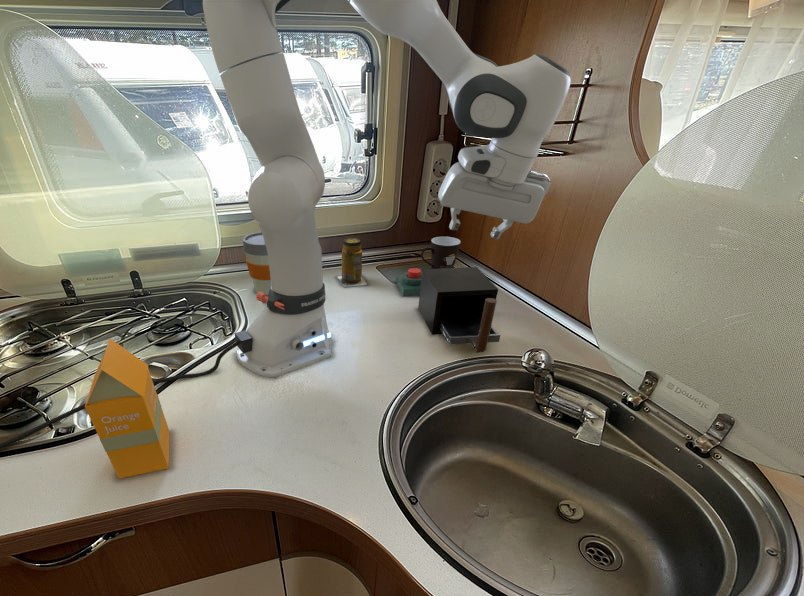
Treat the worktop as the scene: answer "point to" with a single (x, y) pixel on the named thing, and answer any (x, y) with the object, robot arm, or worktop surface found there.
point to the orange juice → (128, 414)
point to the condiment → (351, 263)
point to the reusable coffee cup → (257, 261)
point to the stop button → (414, 273)
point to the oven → (453, 294)
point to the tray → (472, 328)
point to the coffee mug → (443, 252)
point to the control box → (408, 285)
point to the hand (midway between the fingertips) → (473, 233)
